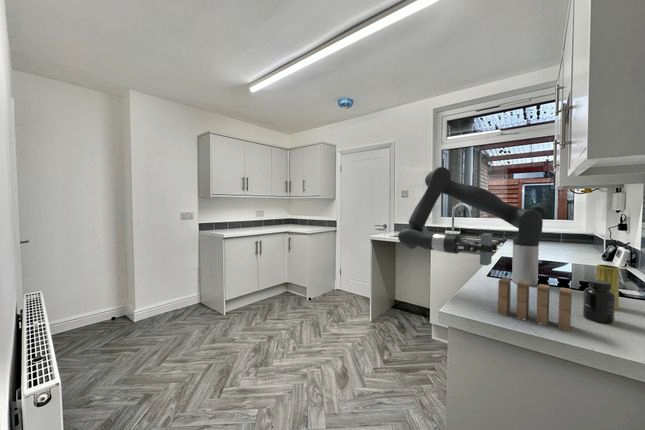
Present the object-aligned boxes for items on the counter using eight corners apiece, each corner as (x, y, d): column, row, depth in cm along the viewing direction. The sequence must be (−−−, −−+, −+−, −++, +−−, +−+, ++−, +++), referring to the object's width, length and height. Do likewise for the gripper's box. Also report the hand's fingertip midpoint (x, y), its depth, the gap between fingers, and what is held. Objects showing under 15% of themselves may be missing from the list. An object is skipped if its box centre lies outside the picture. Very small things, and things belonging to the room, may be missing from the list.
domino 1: (484, 262, 101) (485, 233, 101) (491, 263, 100) (492, 233, 99) (479, 264, 98) (480, 234, 97) (487, 265, 96) (488, 235, 95)
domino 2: (501, 309, 92) (502, 277, 91) (509, 311, 90) (510, 279, 90) (497, 313, 88) (498, 280, 88) (506, 315, 87) (507, 282, 86)
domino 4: (538, 318, 85) (539, 283, 84) (548, 320, 83) (549, 285, 83) (536, 323, 81) (537, 287, 81) (546, 325, 80) (547, 289, 79)
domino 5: (559, 323, 81) (561, 287, 81) (570, 325, 80) (571, 289, 79) (558, 328, 78) (559, 291, 77) (569, 331, 76) (570, 293, 76)
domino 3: (519, 313, 88) (520, 280, 88) (528, 315, 87) (529, 282, 86) (516, 318, 85) (517, 284, 84) (525, 320, 83) (526, 285, 83)
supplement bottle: (577, 316, 86) (579, 279, 85) (590, 313, 88) (591, 277, 87) (606, 326, 79) (608, 286, 79) (619, 322, 82) (621, 283, 81)
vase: (621, 311, 89) (623, 269, 88) (595, 307, 93) (597, 266, 92) (616, 305, 94) (618, 265, 93) (591, 302, 98) (593, 263, 97)
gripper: (438, 235, 104) (489, 240, 91) (453, 232, 113) (500, 236, 101) (438, 254, 104) (488, 262, 92) (452, 250, 114) (499, 256, 101)
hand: (494, 248), depth 96 cm, fingers closed on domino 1, 5 cm apart
